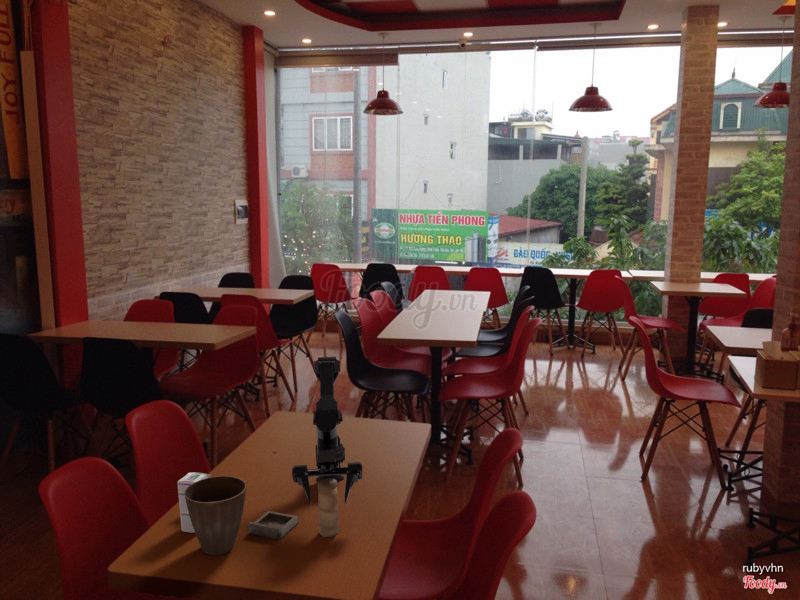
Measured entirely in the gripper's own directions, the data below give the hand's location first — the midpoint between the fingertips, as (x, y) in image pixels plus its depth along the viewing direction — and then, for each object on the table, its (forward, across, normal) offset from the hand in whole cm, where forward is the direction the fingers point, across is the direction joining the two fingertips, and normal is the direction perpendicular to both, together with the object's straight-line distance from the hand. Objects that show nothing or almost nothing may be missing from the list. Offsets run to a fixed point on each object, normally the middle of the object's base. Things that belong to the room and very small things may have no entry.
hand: (327, 503), depth 164 cm
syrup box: (+1, -36, +11) cm, 38 cm away
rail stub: (+5, 0, +6) cm, 8 cm away
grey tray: (+3, -15, +9) cm, 18 cm away
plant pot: (+9, -28, +3) cm, 29 cm away
